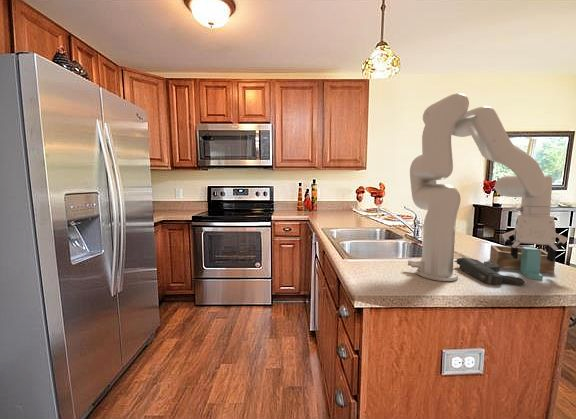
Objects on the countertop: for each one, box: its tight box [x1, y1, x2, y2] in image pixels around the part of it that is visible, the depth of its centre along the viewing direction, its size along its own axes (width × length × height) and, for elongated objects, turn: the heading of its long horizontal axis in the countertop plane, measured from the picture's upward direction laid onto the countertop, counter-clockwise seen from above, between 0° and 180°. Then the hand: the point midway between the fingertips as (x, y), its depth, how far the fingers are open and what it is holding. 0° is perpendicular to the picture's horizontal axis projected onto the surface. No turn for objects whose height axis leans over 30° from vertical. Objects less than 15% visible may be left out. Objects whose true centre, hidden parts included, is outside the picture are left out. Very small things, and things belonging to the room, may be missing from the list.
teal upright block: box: [519, 246, 544, 281], centre depth 93 cm, size 4×9×9 cm, turn 154°
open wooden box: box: [489, 244, 556, 274], centre depth 105 cm, size 16×12×6 cm
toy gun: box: [453, 257, 526, 287], centre depth 93 cm, size 5×19×15 cm
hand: (532, 259), depth 95 cm, fingers open, 9 cm apart
